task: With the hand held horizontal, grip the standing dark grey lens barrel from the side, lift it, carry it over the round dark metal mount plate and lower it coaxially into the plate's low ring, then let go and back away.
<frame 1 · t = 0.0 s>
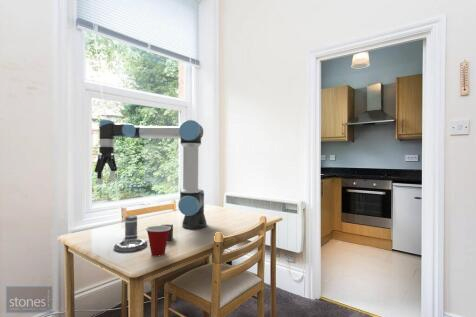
hand: (106, 183, 150), 28 cm above the table, tool pointing down, fingers open, 13 cm apart
plastic cup: (158, 253, 117), on the table
lens: (131, 237, 139), on the table
box: (166, 240, 136), on the table
mount plate: (131, 246, 125), on the table
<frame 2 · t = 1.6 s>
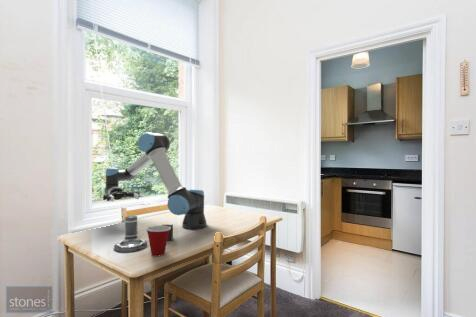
hand: (126, 197, 147), 20 cm above the table, tool horizontal, fingers open, 13 cm apart
nothing on the table moved.
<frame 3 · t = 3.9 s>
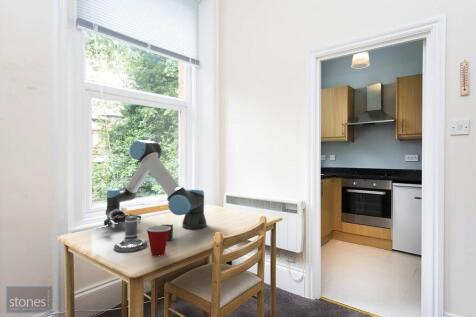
hand: (127, 223, 143), 6 cm above the table, tool horizontal, fingers open, 13 cm apart
nothing on the table moved.
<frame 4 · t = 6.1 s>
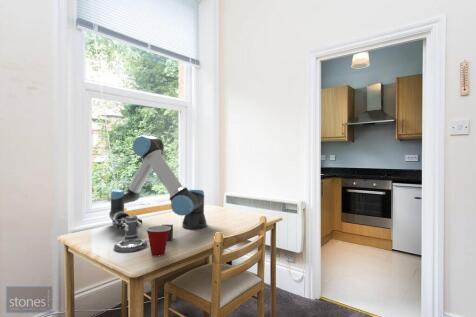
hand: (134, 227, 135), 7 cm above the table, tool horizontal, fingers closed on lens, 6 cm apart
lens: (131, 237, 139), on the table, touching gripper
everything else where it was.
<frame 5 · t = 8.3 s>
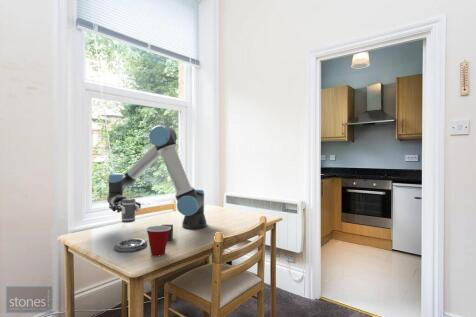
hand: (131, 209, 126), 18 cm above the table, tool horizontal, fingers closed on lens, 6 cm apart
lens: (128, 221, 130), point 11 cm above the table, touching gripper
everything else where it was.
when the fingers open (8 cm above the table, at t = 10.6 s): lens stays where it is, resting on mount plate.
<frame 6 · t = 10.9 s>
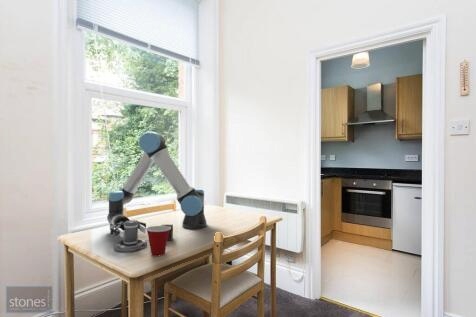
hand: (134, 232, 122), 8 cm above the table, tool horizontal, fingers open, 9 cm apart
lens: (131, 244, 125), point 1 cm above the table, touching mount plate
everything else where it was.
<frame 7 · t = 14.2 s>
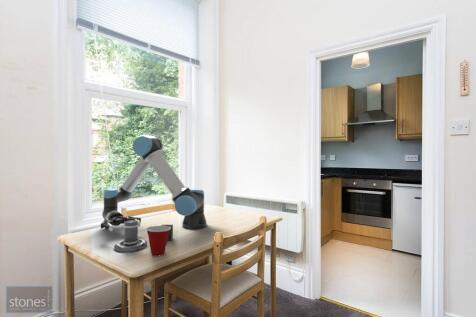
hand: (126, 226, 132), 8 cm above the table, tool horizontal, fingers open, 13 cm apart
nothing on the table moved.
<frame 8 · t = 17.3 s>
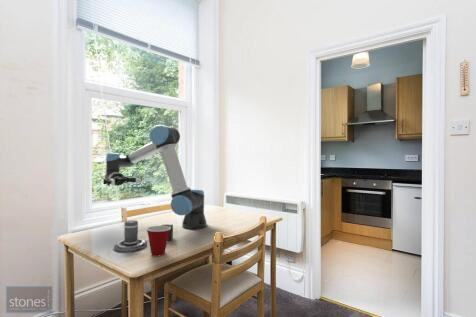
hand: (127, 182, 139), 30 cm above the table, tool horizontal, fingers open, 13 cm apart
nothing on the table moved.
at the end: lens 0.1 cm from the mount plate (horizontally); lens tilted 0°; the gripper is holding nothing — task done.
